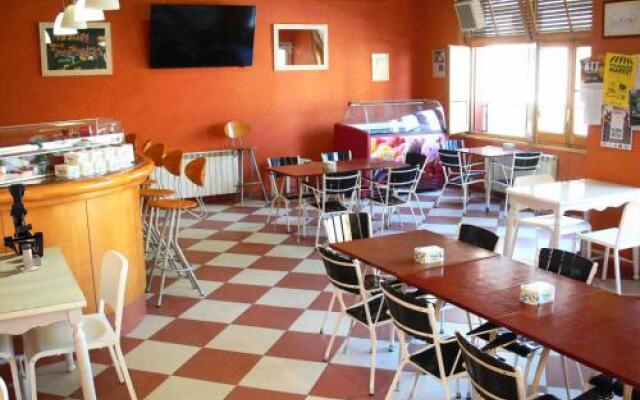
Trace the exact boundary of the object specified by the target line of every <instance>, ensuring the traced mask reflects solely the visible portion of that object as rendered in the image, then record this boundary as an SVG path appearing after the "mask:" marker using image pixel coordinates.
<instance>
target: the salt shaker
mask: <svg viewBox="0 0 640 400" xmlns="http://www.w3.org/2000/svg"><path fill="white" fill-rule="evenodd" d="M22 250H23V254H22V257H23V258H24V265H23V266H24V267H25V269H26V270H28V269H33V261H32V252H31V244H24V245H22ZM23 258H22V259H23Z"/></svg>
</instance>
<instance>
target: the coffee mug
mask: <svg viewBox="0 0 640 400" xmlns="http://www.w3.org/2000/svg"><path fill="white" fill-rule="evenodd" d="M44 241H45V240H44V237H43V240H42V241H40V243H38V246H37V251H36V250H35V244H34V239H31V240H27V243H24V242H23V243H21V244H31V252H32V255H37V254H38V255H39V256H40V257H41V258H43V257H44ZM21 244H20V248H21ZM21 249H22V248H21Z"/></svg>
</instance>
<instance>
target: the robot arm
mask: <svg viewBox="0 0 640 400" xmlns="http://www.w3.org/2000/svg"><path fill="white" fill-rule="evenodd" d="M7 189H8V193H10V196H11V197H12V200H13V201H12V202H13V204H11V206H10V207H11V209H10V211H9V215H10V217H11V218H12V224H13V228H14V232H13V236H12V235H7V236H4V237H3V238H2V239H3V241H2V242H3V247H5V248H10V249H11V250H12V251H13V252H14V253H15V255H23V250H22V249H21V248H22V245H24V244H21V243H23V242H24V243H27V240H31V239H34V244H35V250H36V251H37V246H38V243H40V241H42V240H43V238H44V233H43V231H42V230H41V231H35V232H34V233H33V234H32V233H31V231H32V230H33V225H32V222H31V223H27V224H26V219H25V217H26V216H27V215H28V210H27V209H26V208H25V204H24V202H23V198H24V196H25V192H26V185H25V184H23V183H22V182H21V183H19V182H18V183H11V184H10V185H8V188H7ZM16 244H17V247H16ZM20 244H21V248H20ZM17 249H18V250H17Z"/></svg>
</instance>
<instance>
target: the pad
mask: <svg viewBox="0 0 640 400" xmlns="http://www.w3.org/2000/svg"><path fill="white" fill-rule="evenodd" d="M19 269H20V270H21V272H22V273H26V272H32V271H36V270H37V271H38V270H39V268H38V266H33V269H28V270H26V269H25V266H24V267H20V268H19Z"/></svg>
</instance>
